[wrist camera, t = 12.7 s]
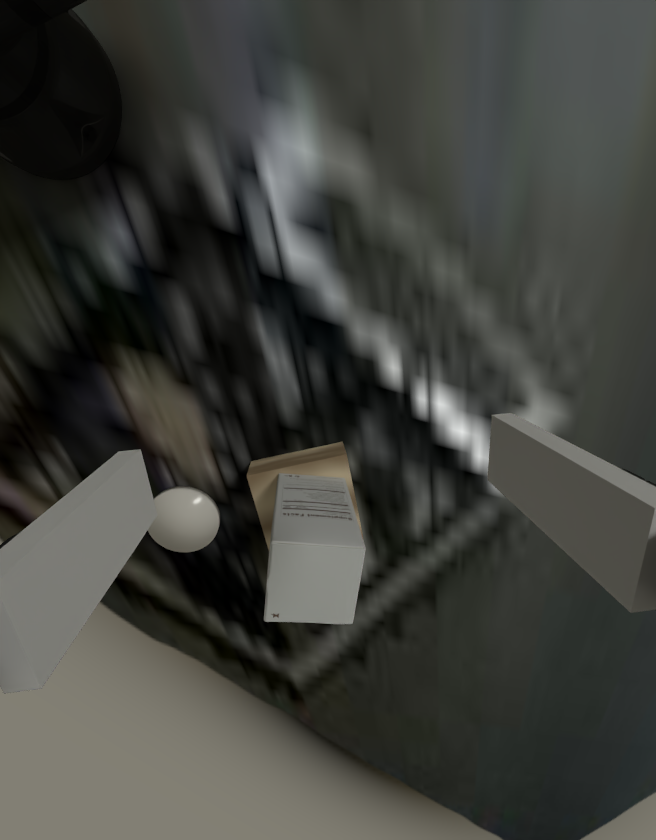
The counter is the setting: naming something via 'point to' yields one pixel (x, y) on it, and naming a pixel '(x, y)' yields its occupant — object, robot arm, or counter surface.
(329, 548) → the supplement box
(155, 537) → the cream smooth round part
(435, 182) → the counter surface
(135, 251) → the counter surface
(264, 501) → the maple block
